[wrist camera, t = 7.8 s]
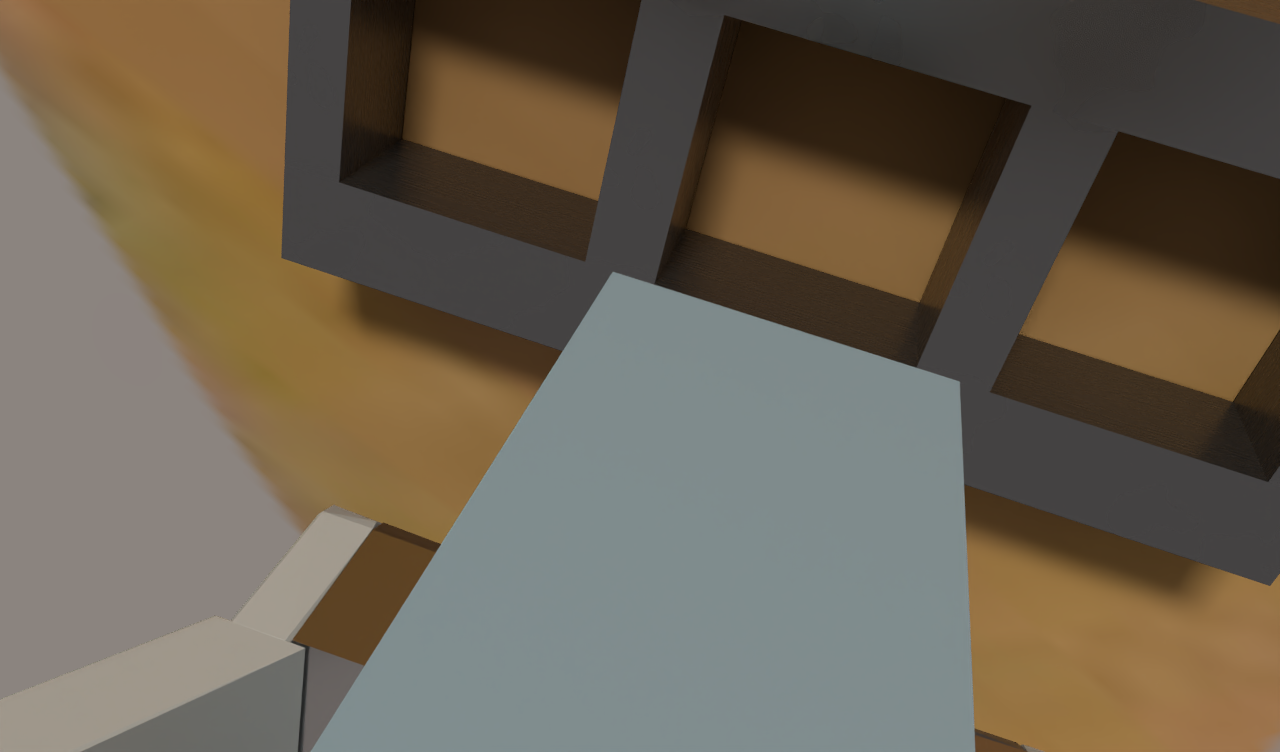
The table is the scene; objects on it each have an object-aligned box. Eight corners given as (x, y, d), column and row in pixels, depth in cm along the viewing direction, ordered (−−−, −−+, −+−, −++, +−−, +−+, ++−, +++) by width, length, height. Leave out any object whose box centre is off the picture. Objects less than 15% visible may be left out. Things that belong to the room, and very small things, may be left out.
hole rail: (1534, 72, 18) (1626, 121, 16) (1236, 498, 24) (1270, 585, 21) (378, -252, 20) (299, -252, 18) (346, 209, 26) (281, 257, 23)
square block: (960, 381, 11) (996, 1256, 5) (841, 632, 14) (752, 1480, 7) (612, 271, 12) (189, 944, 5) (551, 533, 14) (196, 1249, 7)
